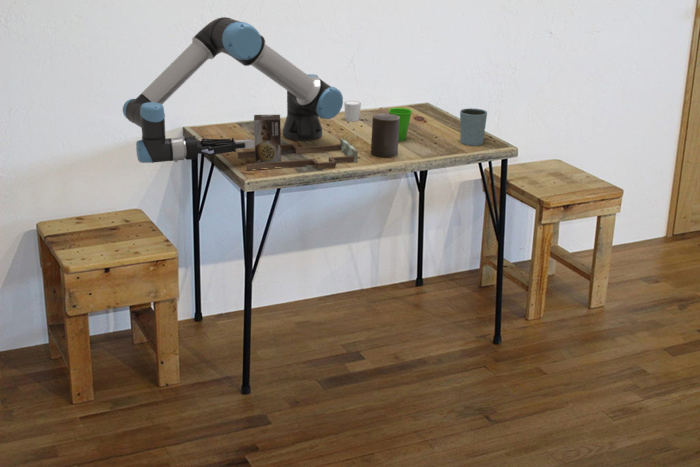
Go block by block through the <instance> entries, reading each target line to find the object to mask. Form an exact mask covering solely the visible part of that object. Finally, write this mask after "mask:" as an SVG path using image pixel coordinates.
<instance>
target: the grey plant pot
mask: <svg viewBox="0 0 700 467" xmlns="http://www.w3.org/2000/svg"><path fill="white" fill-rule="evenodd" d="M459 115H460V116H459V120H460V121H459V122H460V123H459V124H460V125H459V126H460V130H459V132H460V134H459V135H460V141H459V142H460V143H461V144H462V145H465V146H470V147H477V146H482V145H483V143H484V140H485V138H484V137H485V130H486V125H487V124H486V123H487V119H488V118H487V117H488V116H487V115H488V111H487V110H485V109H480V108H472V107H471V108H462V109H461V110H460V112H459Z"/></svg>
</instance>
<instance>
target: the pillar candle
mask: <svg viewBox="0 0 700 467" xmlns="http://www.w3.org/2000/svg"><path fill="white" fill-rule="evenodd" d="M399 121H400V117H399V116H397V115H393V114H389V113H387V112H385V113H384V112H383V113H376V114H373V115H372V124H371V127H372V128H371V144H370V154H371V155H372V156H375V157H379V158H393V157H397V156H398V154H399V153H398V152H399V141H398V139H399Z"/></svg>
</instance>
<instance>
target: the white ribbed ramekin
mask: <svg viewBox="0 0 700 467" xmlns="http://www.w3.org/2000/svg"><path fill="white" fill-rule="evenodd" d="M361 105H362V103H361V102H360V101H357V100H347V101H343V107H344V120H345V121H346V122H347V121H348V122H358V121H360V115H361V107H362V106H361Z"/></svg>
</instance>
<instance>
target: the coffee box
mask: <svg viewBox="0 0 700 467" xmlns="http://www.w3.org/2000/svg"><path fill="white" fill-rule="evenodd" d="M253 126H254V127H253V129H254V134H253V135H254V151H255V157H254V164H255V163H267V162H279V161H282V155H281V145H282V142H281V141H282V140H281V138H282V137H281V134H282V133H281V129H282V126H281V114H254V115H253Z"/></svg>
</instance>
